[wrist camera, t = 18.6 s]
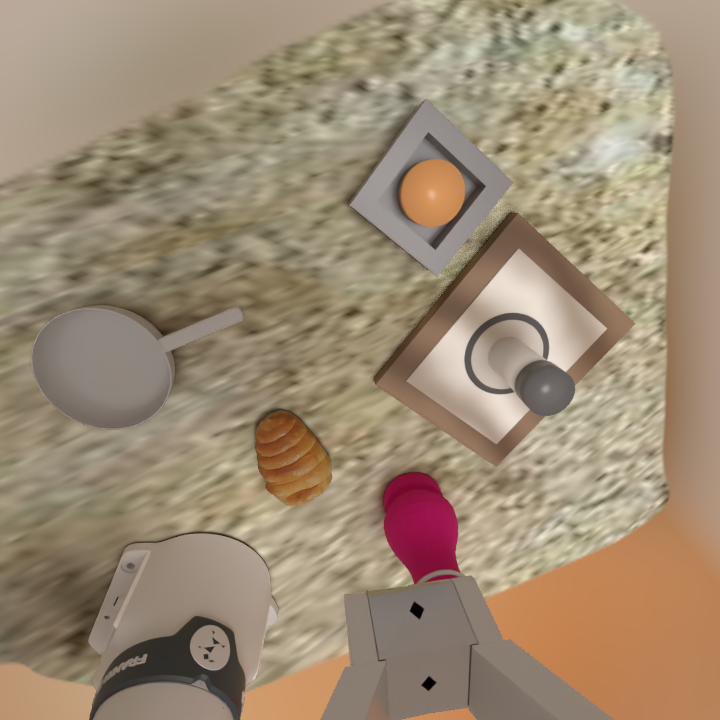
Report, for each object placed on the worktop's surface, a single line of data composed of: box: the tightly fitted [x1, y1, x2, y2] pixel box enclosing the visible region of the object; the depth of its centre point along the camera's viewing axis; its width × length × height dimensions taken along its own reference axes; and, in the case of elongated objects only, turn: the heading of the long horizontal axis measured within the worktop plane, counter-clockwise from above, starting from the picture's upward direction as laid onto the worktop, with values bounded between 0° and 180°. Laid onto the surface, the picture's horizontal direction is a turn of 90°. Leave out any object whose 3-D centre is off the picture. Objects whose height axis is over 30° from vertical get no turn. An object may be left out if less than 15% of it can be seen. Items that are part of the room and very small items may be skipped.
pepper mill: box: [383, 473, 465, 584], centre depth 38 cm, size 7×7×20 cm
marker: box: [488, 337, 575, 416], centre depth 36 cm, size 4×4×8 cm
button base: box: [348, 99, 513, 276], centre depth 35 cm, size 9×9×3 cm
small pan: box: [31, 305, 244, 430], centre depth 37 cm, size 11×18×4 cm, turn 112°
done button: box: [397, 159, 465, 227], centre depth 34 cm, size 5×5×2 cm
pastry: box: [255, 410, 332, 506], centre depth 42 cm, size 9×7×4 cm
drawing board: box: [374, 212, 635, 466], centre depth 41 cm, size 19×16×2 cm
